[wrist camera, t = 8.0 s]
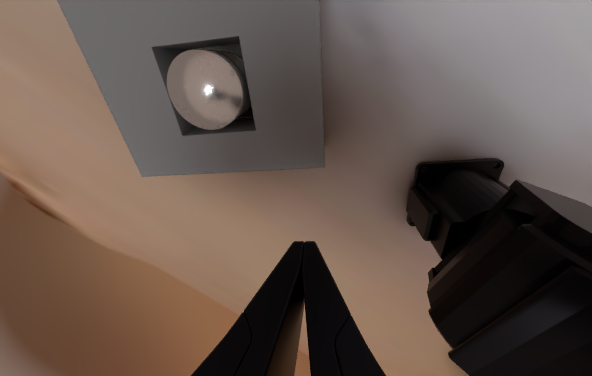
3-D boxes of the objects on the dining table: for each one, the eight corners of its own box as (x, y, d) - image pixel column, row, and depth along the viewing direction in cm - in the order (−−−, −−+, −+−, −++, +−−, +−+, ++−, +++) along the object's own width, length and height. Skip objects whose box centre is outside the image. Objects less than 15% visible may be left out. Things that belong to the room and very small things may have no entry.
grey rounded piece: (249, 48, 16) (230, 45, 12) (260, 113, 18) (246, 127, 14) (189, 55, 16) (154, 54, 13) (207, 118, 18) (181, 132, 15)
